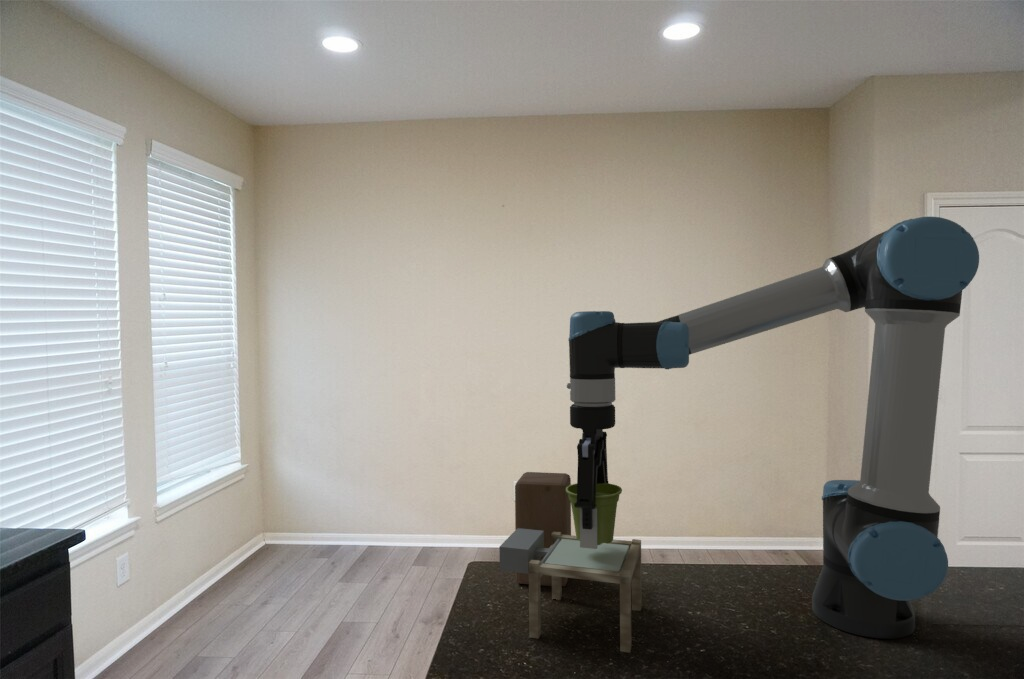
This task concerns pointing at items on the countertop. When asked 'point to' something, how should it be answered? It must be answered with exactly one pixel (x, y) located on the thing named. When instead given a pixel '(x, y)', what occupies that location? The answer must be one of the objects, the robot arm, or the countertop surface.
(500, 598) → the countertop surface
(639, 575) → the frame
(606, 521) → the plant pot
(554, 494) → the wooden block
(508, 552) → the trapdoor
